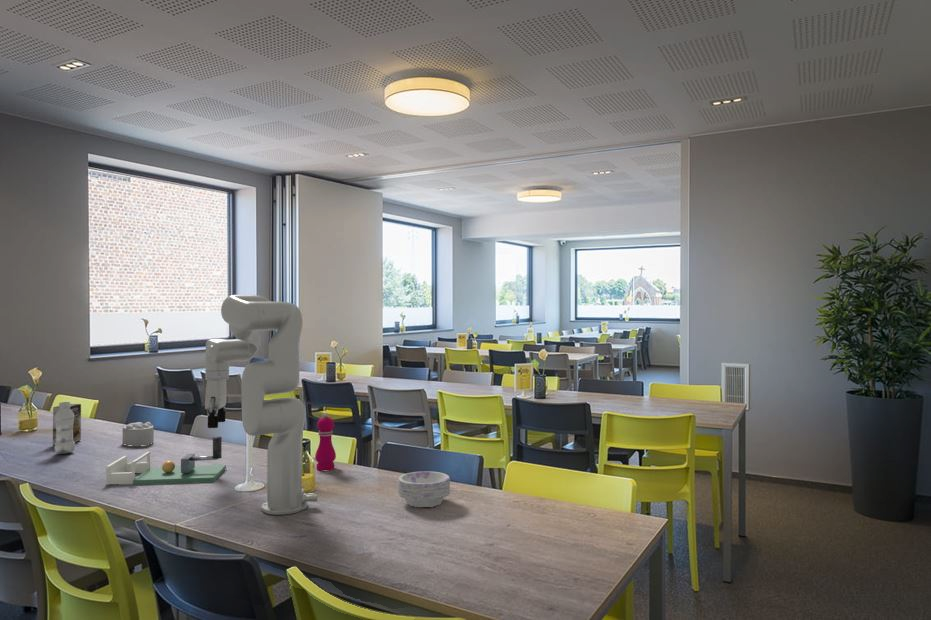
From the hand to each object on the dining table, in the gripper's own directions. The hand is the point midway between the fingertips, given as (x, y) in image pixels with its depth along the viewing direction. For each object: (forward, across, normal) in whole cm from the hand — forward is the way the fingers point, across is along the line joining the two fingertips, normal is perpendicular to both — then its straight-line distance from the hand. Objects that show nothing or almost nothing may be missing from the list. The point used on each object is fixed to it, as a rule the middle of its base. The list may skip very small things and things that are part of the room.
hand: (216, 424), depth 208 cm
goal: (+18, +1, -28) cm, 33 cm away
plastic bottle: (+19, -39, -66) cm, 80 cm away
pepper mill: (+17, -3, +36) cm, 40 cm away
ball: (+14, +1, -15) cm, 21 cm away
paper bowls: (+16, +40, +68) cm, 81 cm away
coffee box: (+19, -58, -74) cm, 97 cm away
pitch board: (+17, +1, -11) cm, 21 cm away
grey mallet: (+15, +1, -4) cm, 16 cm away
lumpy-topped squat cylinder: (+19, -54, -44) cm, 73 cm away
